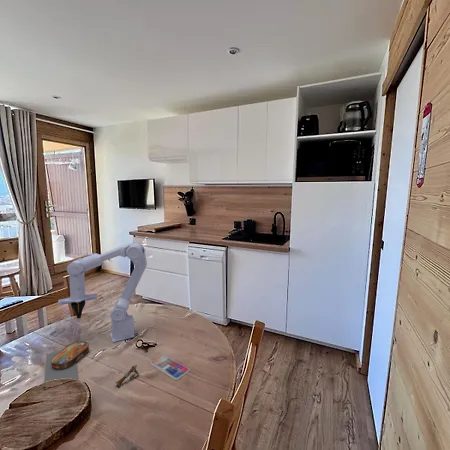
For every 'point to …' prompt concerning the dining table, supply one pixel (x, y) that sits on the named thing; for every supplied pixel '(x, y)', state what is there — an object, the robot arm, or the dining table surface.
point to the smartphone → (170, 367)
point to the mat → (59, 370)
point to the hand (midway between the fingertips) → (78, 317)
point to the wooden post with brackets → (128, 375)
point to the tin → (70, 355)
